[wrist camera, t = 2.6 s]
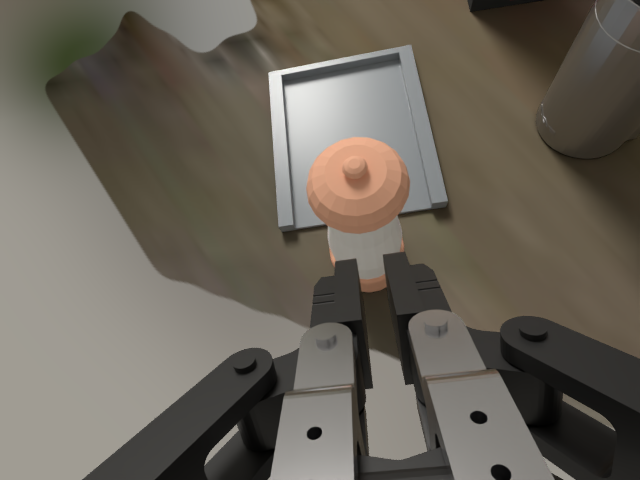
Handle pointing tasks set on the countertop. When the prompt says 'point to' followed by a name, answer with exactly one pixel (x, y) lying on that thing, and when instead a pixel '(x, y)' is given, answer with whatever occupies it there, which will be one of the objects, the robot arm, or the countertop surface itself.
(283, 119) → the tray
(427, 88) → the countertop surface
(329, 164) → the pepper shaker
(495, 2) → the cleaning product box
